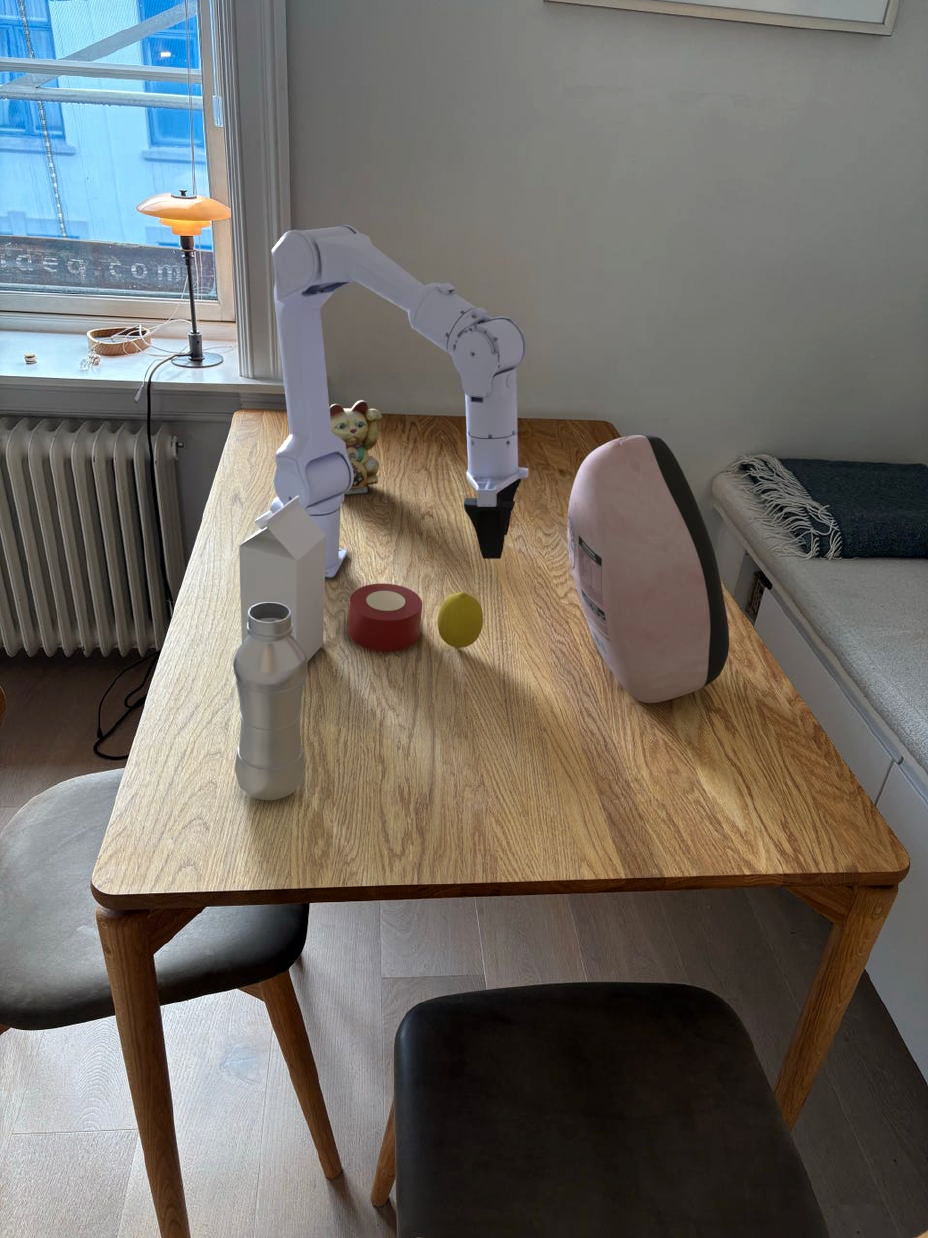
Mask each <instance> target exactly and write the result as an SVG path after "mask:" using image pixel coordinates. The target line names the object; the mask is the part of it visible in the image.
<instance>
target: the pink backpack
mask: <svg viewBox="0 0 928 1238" xmlns="http://www.w3.org/2000/svg"><path fill="white" fill-rule="evenodd" d="M694 495H695V494H694V493H693V491H692V489H691V486H690V483H689V482H688V480H687V478H686V476H685V473H684V471H683V469H682V467H681V465H680V463H679V461H678V459H677V458H676V456H675V454H674V453H673V451H672V449H671V448H670V447H669V445H668V444H667V443H666V442H665V441H664V440H663V439H662V438H660V437H659V436H657V435H650V434H635V435H627V436H621V437H618V438H615V439H612V440H610V441H607V442H606V443H604V444H602V445H600V446H598V447H596V448H595V449H594V450H592V451H591V452H590V453H589V454H588V455H587V456H586V457H585V458H584V460H583V461H582V462H581V464H580V466H579V469H578V471H577V473H576V475H575V478H574V481H573V485H572V488H571V493H570V497H569V501H568V509H567V527H566V528H567V548H568V549H567V550H568V558H569V565H570V569H571V573H572V574H571V575H572V578H573V581H574V584H575V589H576V591H577V594H578V598H579V600H580V604H581V607H582V610H583V614H584V616H585V619H586V622H587V625H588V627H589V631H590V633H591V636H592V638H593V641H594V643H595V646H596V648H597V650H598V651H599V654H600V656H601V657H602V659H603V661H604V662H605V664H606V666H607V667H608V669H609V670H610V671H611V673H612V674H613V676H614V677H615V678H616V680H617V681H618V682H619V684H621V686H622V687H623V689H624V690H625V691H626V692H627V693H628V694H629V695H630V696H631V697H632V698H634V699H635V700H637V701H639V702H641V703H644V704H655V703H661V702H665V701H669V700H672V699H676V698H679V697H682V696H686V695H689V694H691V693H694V692H696V691H699V690H701V689H703V688H705V687H706V686H708V685H709V684H711V683H713V682H714V681H715V680H716V679H717V678H718V677H719V676H720V675H721V674H722V673H723V672H722V671H723V670H724V668H725V667H726V666H725V665H726V663H727V661H728V656H729V651H730V629H729V622H728V621H729V620H728V615H727V613H728V612H727V609H726V608H727V607H726V602H725V597H724V596H725V595H724V591H723V585H722V581H721V576H720V571H719V565H718V561H717V557H716V553H715V549H714V546H713V542H712V539H711V538H710V534H709V532H708V529H707V526H706V524H705V521H704V518H703V516H702V512H701V511H700V508H699V505H698V503H697V500H696V498H695V496H694Z"/></svg>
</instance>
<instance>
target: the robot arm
mask: <svg viewBox="0 0 928 1238" xmlns="http://www.w3.org/2000/svg"><path fill="white" fill-rule="evenodd" d="M271 255H272V263H273V264H272V265H273V275H274V287H273V302H274V309H275V310H274V311H275V319H276V326H277V336H278V345H279V352H280V359H281V360H280V362H281V370H282V371H281V372H282V379H283V388H284V395H285V396H284V397H285V405H286V414H287V421H288V422H287V423H288V429H289V435H288V437H286V439H285V441H284V442H283V443H282V444H281V446H280V448H278V450H277V451H276V453H275V462H276V463H275V464H276V466H275V471H274V476H273V486H274V487H273V488H274V491H275V495H276V496H277V497H275V498H274V499H273V501H272V503H271V505H270V508H269V511H271V512H272V513H273V514H274V513H275V512H276V511H278V510H279V509H280V508H282V507H283V506H284V505H285V504H287V503H288V502H289V501H291V500H292V499H293V498H295V497H296V496H299V505H300V506H301V507H302V508H303V509H304V510H305V512H306V513H307V514H308V515H309V516H310V517H311V518H312V519H313V521H314V522H315V523H316V524H317V525H318V526H319V527H320V528H321V530H322V531H323V532H324V533H325V534H326V551H325V578H330V579H331V578H332V579H333V578H334V577H335V576H336V574H337V573H338V571H339V569H340V567H341V565H342V564H343V562H344V560H345V558H346V557H347V554H348V550H347V549H343V548H340V537H341V536H340V535H341V534H340V532H341V507H342V506H341V505H342V503H343V502H344V501H345V494H344V493H345V492H347V491H348V490H349V489H350V488H351V487H352V484H353V480H354V473H353V468H352V465H351V463H350V461H349V459H348V456H347V452H346V443H345V442H344V441H343V440H342V439H340V438H339V437H337V436H336V435H335V434H333V433H332V428H331V418H330V407H331V406H330V399H329V387H328V376H327V368H326V367H327V366H326V365H327V364H326V357H325V346H324V344H325V343H324V337H323V334H324V333H323V327H322V326H323V324H322V314H321V313H322V312H321V309H322V307H323V305H325V303H326V302H327V301H328V300H329V299H330V298H331V297H332V295H333V294H334V293H335V292H336V291H337V290H340V289H341V288H343V287H345V286H347V285H349V284H350V283H352V282H356V283H358V284H360V285H361V286H362V287H365V288H366V289H368V290H369V291H371V292H373V293H375V294H376V295H378V296H379V297H381V298H382V299H385V300H386V301H388V302H389V303H391V304H392V305H395V306H396V307H398V308H400V309H401V310H403V311H405V312H406V313H407V317H408V322H409V325H410V328H411V329H412V330H413V331H416V332H417V333H418V334H419V335H421V336H422V337H423V338H425V339H427V340H428V341H429V342H431V343H433V344H434V345H436V346H437V347H438V348H439V349H441V350H443V351H444V352H446V353H447V354H448V355H449V356H451V358H452V362H453V365H454V367H455V369H456V371H457V372H458V374H459V376H460V378H461V387H462V388H461V389H462V390H463V391H464V398H465V399H464V400H465V420H466V421H465V423H466V447H467V449H466V450H467V470H466V479H467V480H468V482H469V483H470V485H471V486H472V487H473V488H474V490H475V491H476V497H466V498H465V499H464V501H463V509H464V512H465V513H466V515H467V516H468V518H469V519H470V522H471V524H472V525H473V529H474V531H475V534H476V539H477V542H478V546H479V547H478V548H479V551H480V554H481V557H482V559H484V560H500V559H501V558H502V555H503V550H504V545H505V538H506V537H505V536H507V535H508V532H509V529H510V524H511V517H512V512H513V509H514V507H515V504H516V500H514V499H515V495H516V493H517V490H518V488H519V486H520V484H521V481H522V479H527V478H528V477H529V473H530V471H529V470H530V469H529V468H527V467H519V441H518V439H519V438H518V436H519V435H518V434H519V433H518V382H517V381H518V380H517V368H518V367H519V366H520V365H521V364H522V363H523V362H524V359H525V357H526V355H527V354H526V353H527V341H526V340H527V339H526V337H525V335H524V332H523V330H522V329H521V327H520V326H519V325H518V324H517V323H516V322H515V321H514V320H513V319H512V318H511V317H509V316H505V315H504V316H497V317H496V316H495V317H491V316H490V315H488V314H489V313H488V312H489V311H488V310H487V309H485V308H484V307H482V306H480V307H476V306H475V305H473V304H472V303H470V302H469V301H467V300H466V299H464V298H463V297H461V296H460V295H458V294H457V293H455V291H456V287H455V286H454V285H452V284H451V283H450V282H444V283H440V282H431V283H429V284H427V285H424V283H422V282H420V280H418V279H417V278H416V277H414V276H413V275H412V274H410V273H409V272H407V270H405V269H404V268H402V266H400V265H399V264H397V263H396V262H395V261H394V260H393V259H391V258H390V257H388V255H386V254H385V253H383V252H382V251H381V250H380V249H378V248H377V247H376V246H375V245H374V244H373V243H372V240H371V237H370V236H369V235H367V234H365V233H362V232H360V231H359V230H358V229H357V228H355V227H354V226H352V225H348V224H341V225H337V226H333V227H323V228H313V229H305V230H299V229H292V230H288V231H286V232H285V233H284V234H283V235H282V236H281V237H280V239H279V240H278V241H277V242H276V244H275V245H274V247H272V249H271Z"/></svg>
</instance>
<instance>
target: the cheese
mask: <svg viewBox="0 0 928 1238" xmlns="http://www.w3.org/2000/svg"><path fill="white" fill-rule="evenodd" d="M422 612H423V600H422V598H421V596H420V595H419V594H417V593H416V592H415V591H414V590H412V589H410V588H408V587H406V586H403V585H398V584H394V583H385V582H384V583H372V584H366V585H364V586H363V585H362V586H361V587H358V588H356V589H355V590H354V591H353V592H351V594H350V596H349V599H348V617H347V618H348V620H347V621H348V622H347V634H348V637H349V639H351V640H352V641H353V642H354V643H355V644H356V645H358V646H359V647H362V648H364V649H367V650H370V651H374V652H375V651H376V652H383V653H385V652H386V653H387V652H389V653H390V652H398V651H402V650H406V649H408V648H411V647H412V646H414V645H415V644H416V643H417V642H418V640H419V639H420V636H421V625H422V615H423V614H422Z"/></svg>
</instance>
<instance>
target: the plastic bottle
mask: <svg viewBox="0 0 928 1238" xmlns="http://www.w3.org/2000/svg"><path fill="white" fill-rule="evenodd" d="M292 630H293V628H292V622H291V611H290V609H289V608H288V607H287V606H286V605H283V604H280V603H276V602H263V603H258V604H255V605H253V606H252V607H251V608H250V609H249V610H248V624H247V631H248V633H249V636H248V637H247V638H246V639H245V640H244V641H243V643H242V642H241V644H240V645H239V647H238V648H237V650H236V652H235V655H234V659H233V660H232V661H233V662H232V663H233V664H232V666H233V674H234V679H235V685H236V689H237V695H238V700H239V711H240V733H239V743H238V747H237V751H236V755H235V763H234V772H235V776H236V780H237V783H238V785H239V787H240V788H241V789H242V790H243V791H244V792H245V793H246V794H247V795H248V796H250V797H251V798H254V799H257V800H261V801H275V800H281V799H283V798H286V797H288V796H290V795H291V794H293V793H294V792H295V791H296V790H297V789H298V788H299V787H300V786H301V785H302V784H301V783H302V782H303V780H304V774H305V771H306V758H305V752H304V747H303V745H302V733H301V709H302V699H303V697H302V696H303V692H304V687H305V683H306V677H307V673H308V664H309V663H308V662H309V661H308V662H307V657H306V654H305V651H304V649H303V648H302V646H301V645H300V644H299V643H298V641H297V640H296V639H295V638H294V637H293V636H292V635H291V633H292Z"/></svg>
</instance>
